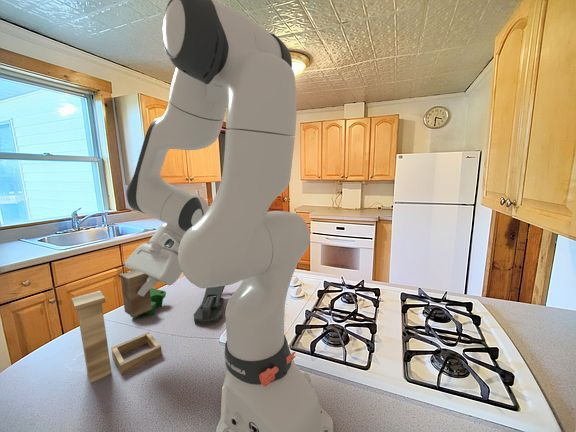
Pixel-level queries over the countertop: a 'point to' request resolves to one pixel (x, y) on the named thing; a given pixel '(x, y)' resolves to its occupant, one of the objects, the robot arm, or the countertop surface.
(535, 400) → the countertop surface
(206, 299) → the zipper pull
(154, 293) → the clamp
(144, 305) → the wooden block
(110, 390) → the countertop surface
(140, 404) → the countertop surface
